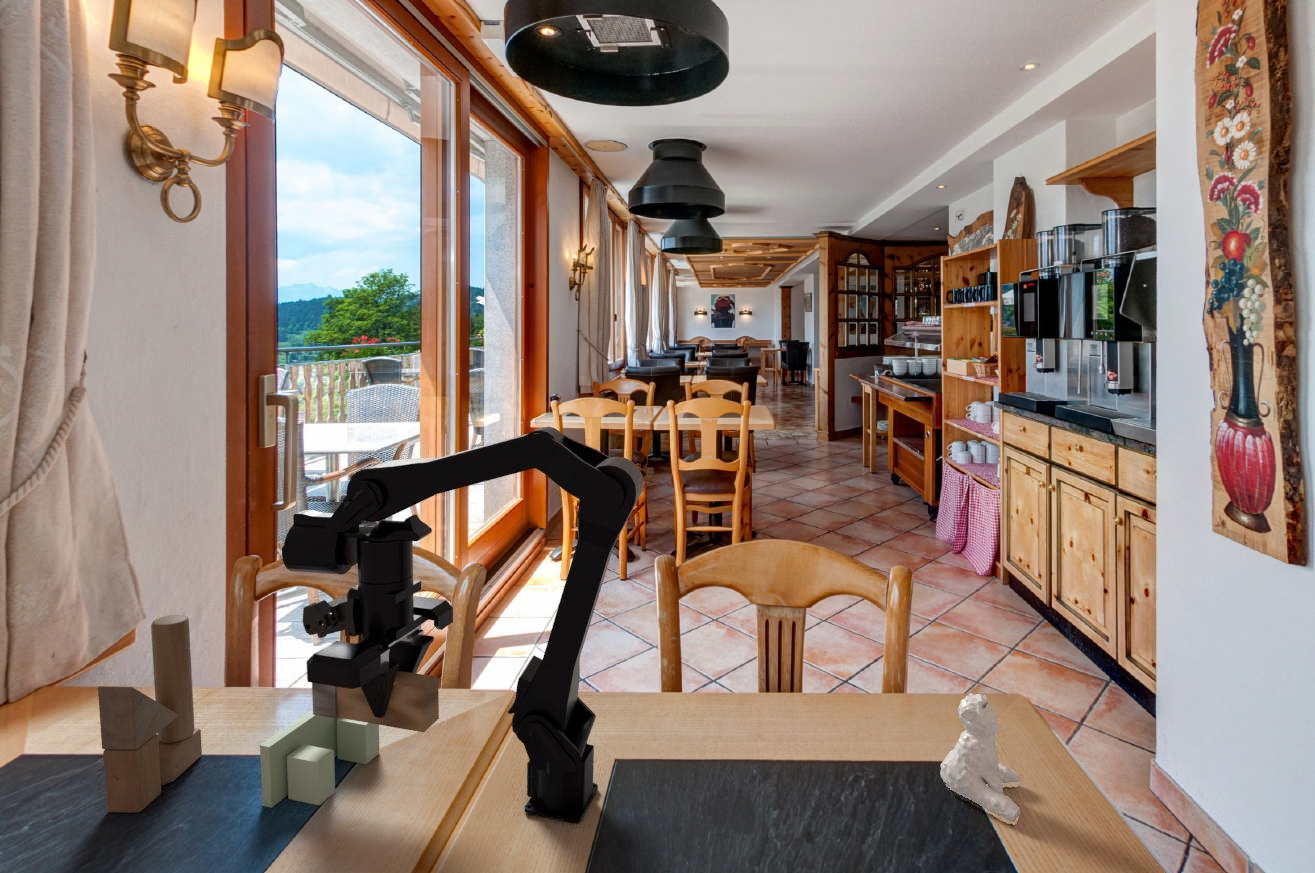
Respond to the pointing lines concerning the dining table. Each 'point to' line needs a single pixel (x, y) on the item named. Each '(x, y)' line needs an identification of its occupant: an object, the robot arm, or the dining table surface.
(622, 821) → the dining table surface
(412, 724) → the hammer
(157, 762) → the wooden block
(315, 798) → the pale green slab
